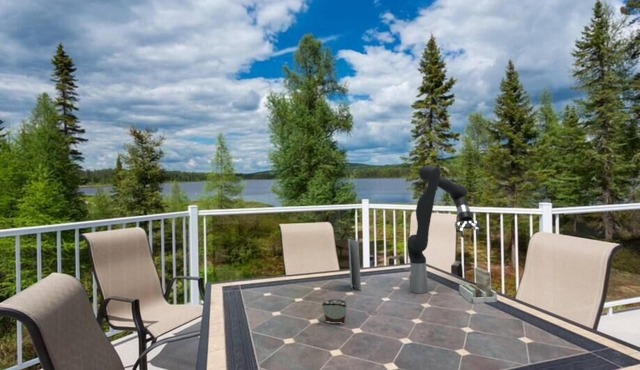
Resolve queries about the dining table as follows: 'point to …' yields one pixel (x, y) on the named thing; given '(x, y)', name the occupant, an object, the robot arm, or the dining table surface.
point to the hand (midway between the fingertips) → (470, 236)
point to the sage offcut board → (471, 290)
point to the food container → (335, 310)
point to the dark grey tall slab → (354, 263)
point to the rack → (481, 299)
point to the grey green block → (476, 291)
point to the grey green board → (483, 281)
